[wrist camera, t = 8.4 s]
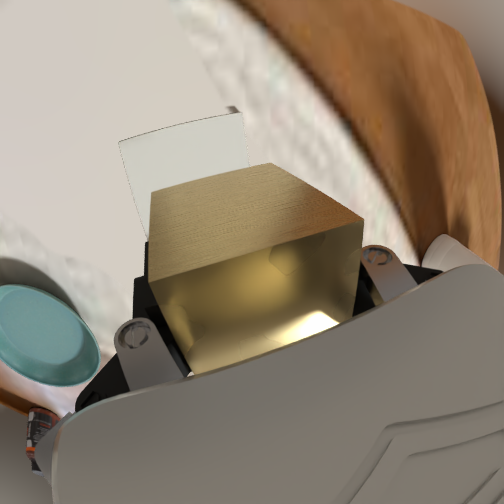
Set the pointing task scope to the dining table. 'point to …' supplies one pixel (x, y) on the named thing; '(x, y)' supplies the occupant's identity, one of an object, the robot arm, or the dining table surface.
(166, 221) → the gold block
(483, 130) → the dining table surface
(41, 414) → the supplement bottle
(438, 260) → the bottle
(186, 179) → the mat
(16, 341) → the saucer
